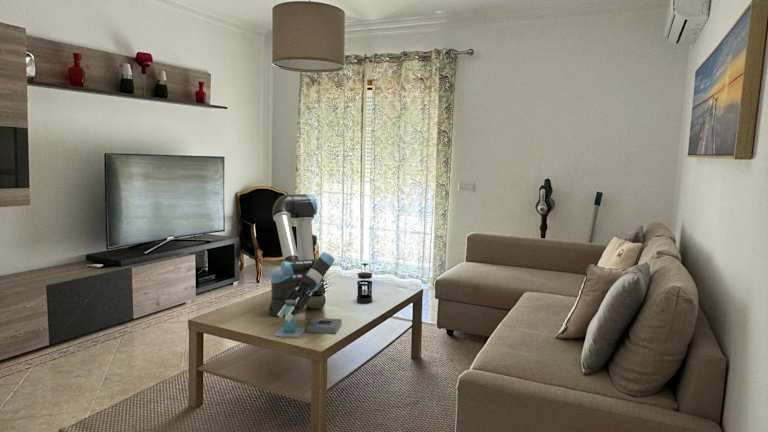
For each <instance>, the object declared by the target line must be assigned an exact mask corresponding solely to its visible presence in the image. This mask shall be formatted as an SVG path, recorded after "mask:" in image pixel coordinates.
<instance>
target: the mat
mask: <svg viewBox="0 0 768 432" xmlns="http://www.w3.org/2000/svg"><path fill="white" fill-rule="evenodd" d="M304 330H305V331H306V328H302V327H295V332H293V333H287V332H285V326H281V327H280V328H279V329H278V330H276V332H275V333H274V334H273V337H274V336H279V337H278V338H288V337H294V338H293V339H299V338H300V336H301V335H302V334H303V333H304V332H305V331H304ZM298 337H299V338H298Z"/></svg>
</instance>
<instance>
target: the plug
mask: <svg viewBox="0 0 768 432" xmlns="http://www.w3.org/2000/svg"><path fill="white" fill-rule="evenodd" d="M296 303H297V299H296V300H286V301H285V317H286V316H287V315H288V313H289V312H290V311H291V309H292V308H293V307H294V306H295V305H296ZM294 308H295V307H294ZM285 317H284V327H285V332H287V333H293V332H295V328H296V314H295V315H294V316H293V317H292V319H291V320H290V321H287V320H286V319H285Z"/></svg>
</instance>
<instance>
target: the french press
mask: <svg viewBox="0 0 768 432" xmlns="http://www.w3.org/2000/svg"><path fill="white" fill-rule="evenodd" d="M368 265H369V263H366V262H365V263H364V262H363V263H361V266H364V267H363V268H367V266H368ZM357 278H358V279H360V280H357V281H356V285H357V295H356V303H358V304H361V305H362V304H363V305H368V304H372V303H373V281H372V280H370V279H372V278H373V273H372V272H367V271H362V272H358V273H357ZM363 287H364V288H363Z"/></svg>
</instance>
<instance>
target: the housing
mask: <svg viewBox="0 0 768 432" xmlns="http://www.w3.org/2000/svg"><path fill="white" fill-rule="evenodd" d="M342 324H343V322H342V318H328V317H327V318H325V317H314V318H313V320H311V322H309V324H308V325H307V328H306V329H307V330H306V331H307V333H313V332H314V333H317V334H329V333H330V334H331V335H336V334H337V332H338V331H339V329H340V328H341V326H342Z"/></svg>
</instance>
